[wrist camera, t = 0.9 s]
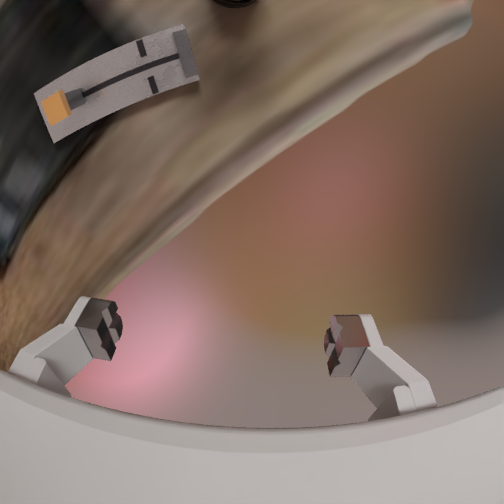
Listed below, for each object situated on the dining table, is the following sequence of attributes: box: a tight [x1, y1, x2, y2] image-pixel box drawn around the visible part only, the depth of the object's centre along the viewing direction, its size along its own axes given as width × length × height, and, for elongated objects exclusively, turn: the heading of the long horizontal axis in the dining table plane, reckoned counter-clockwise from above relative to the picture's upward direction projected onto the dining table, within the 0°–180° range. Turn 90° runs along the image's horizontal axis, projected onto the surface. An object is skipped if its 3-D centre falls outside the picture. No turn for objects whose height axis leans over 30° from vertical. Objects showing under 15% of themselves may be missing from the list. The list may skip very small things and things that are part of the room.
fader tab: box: [41, 88, 85, 126], centre depth 29 cm, size 3×4×10 cm
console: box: [34, 24, 200, 143], centre depth 34 cm, size 26×10×3 cm, turn 103°
